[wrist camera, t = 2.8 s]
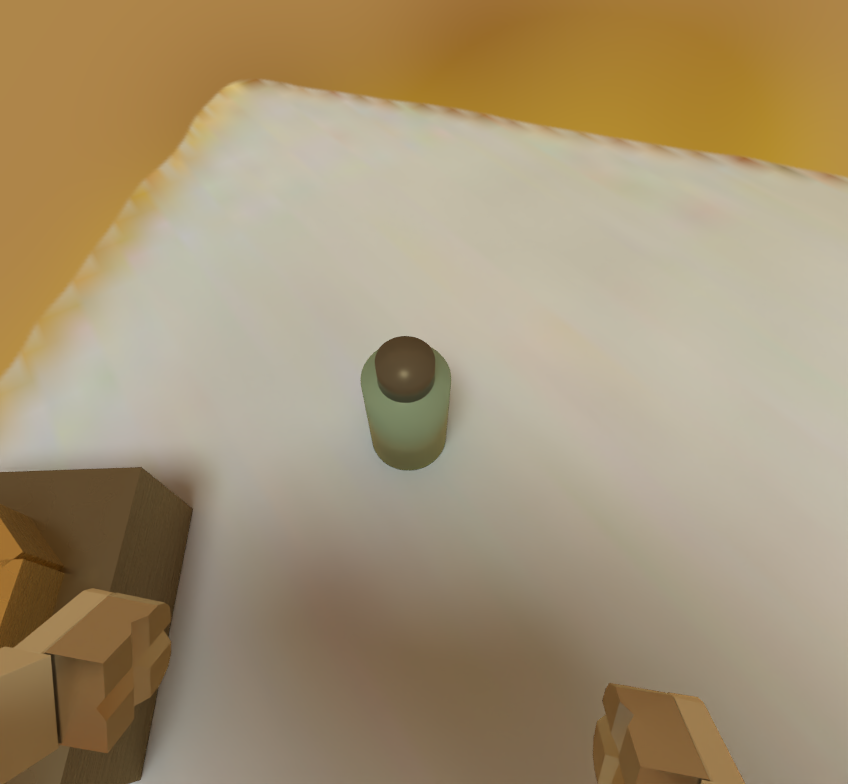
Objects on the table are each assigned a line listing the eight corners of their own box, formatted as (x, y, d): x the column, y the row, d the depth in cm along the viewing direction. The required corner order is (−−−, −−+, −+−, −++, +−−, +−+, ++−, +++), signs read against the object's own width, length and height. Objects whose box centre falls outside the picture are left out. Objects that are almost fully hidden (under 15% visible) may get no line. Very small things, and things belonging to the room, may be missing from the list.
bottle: (448, 469, 30) (455, 400, 23) (371, 471, 29) (355, 403, 23) (443, 402, 32) (449, 321, 25) (372, 404, 32) (358, 324, 25)
